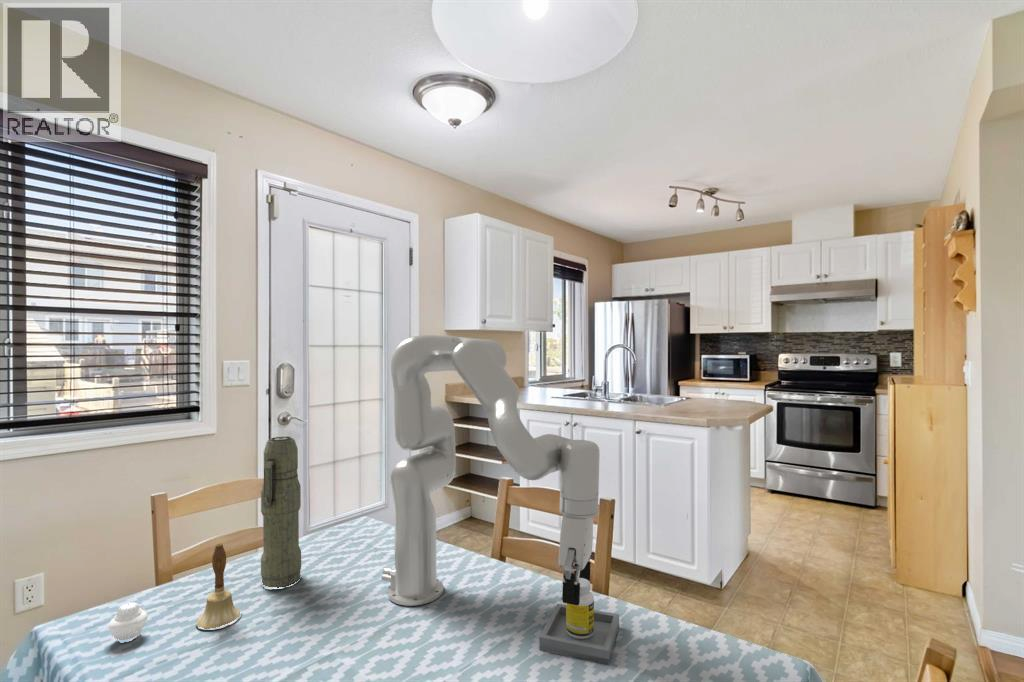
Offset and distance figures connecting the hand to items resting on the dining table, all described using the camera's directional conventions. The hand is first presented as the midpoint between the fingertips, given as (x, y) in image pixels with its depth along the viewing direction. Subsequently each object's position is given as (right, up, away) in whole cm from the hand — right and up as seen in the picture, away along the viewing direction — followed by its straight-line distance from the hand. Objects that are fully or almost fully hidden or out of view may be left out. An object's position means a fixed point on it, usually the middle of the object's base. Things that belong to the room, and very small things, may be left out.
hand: (576, 591), depth 99 cm
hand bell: (-74, -10, +7) cm, 75 cm away
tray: (+1, -9, 0) cm, 9 cm away
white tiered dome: (-88, -10, 0) cm, 89 cm away
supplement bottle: (+1, -8, 0) cm, 8 cm away
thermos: (-69, -10, +24) cm, 74 cm away
